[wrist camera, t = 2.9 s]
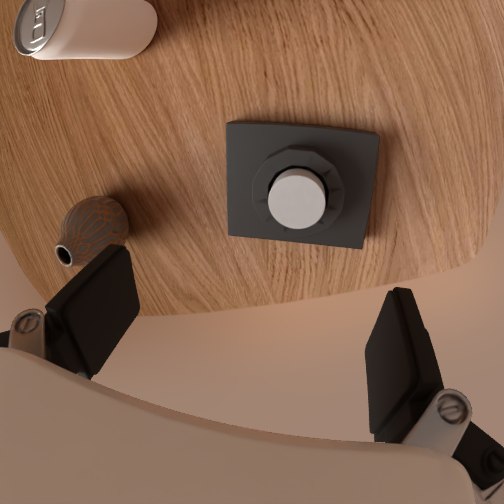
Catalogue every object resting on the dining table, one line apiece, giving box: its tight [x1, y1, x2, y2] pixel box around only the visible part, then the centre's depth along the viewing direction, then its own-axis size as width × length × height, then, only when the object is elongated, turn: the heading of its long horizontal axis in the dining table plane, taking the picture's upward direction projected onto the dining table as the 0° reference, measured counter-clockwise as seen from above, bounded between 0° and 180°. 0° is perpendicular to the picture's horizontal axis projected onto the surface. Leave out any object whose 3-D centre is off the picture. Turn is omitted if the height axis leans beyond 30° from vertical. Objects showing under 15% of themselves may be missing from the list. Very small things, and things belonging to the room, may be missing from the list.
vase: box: [55, 196, 129, 267], centre depth 27 cm, size 7×7×9 cm
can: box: [13, 0, 157, 60], centre depth 15 cm, size 6×6×12 cm
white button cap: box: [268, 168, 326, 229], centre depth 22 cm, size 4×4×2 cm
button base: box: [226, 121, 380, 249], centre depth 24 cm, size 12×10×4 cm
